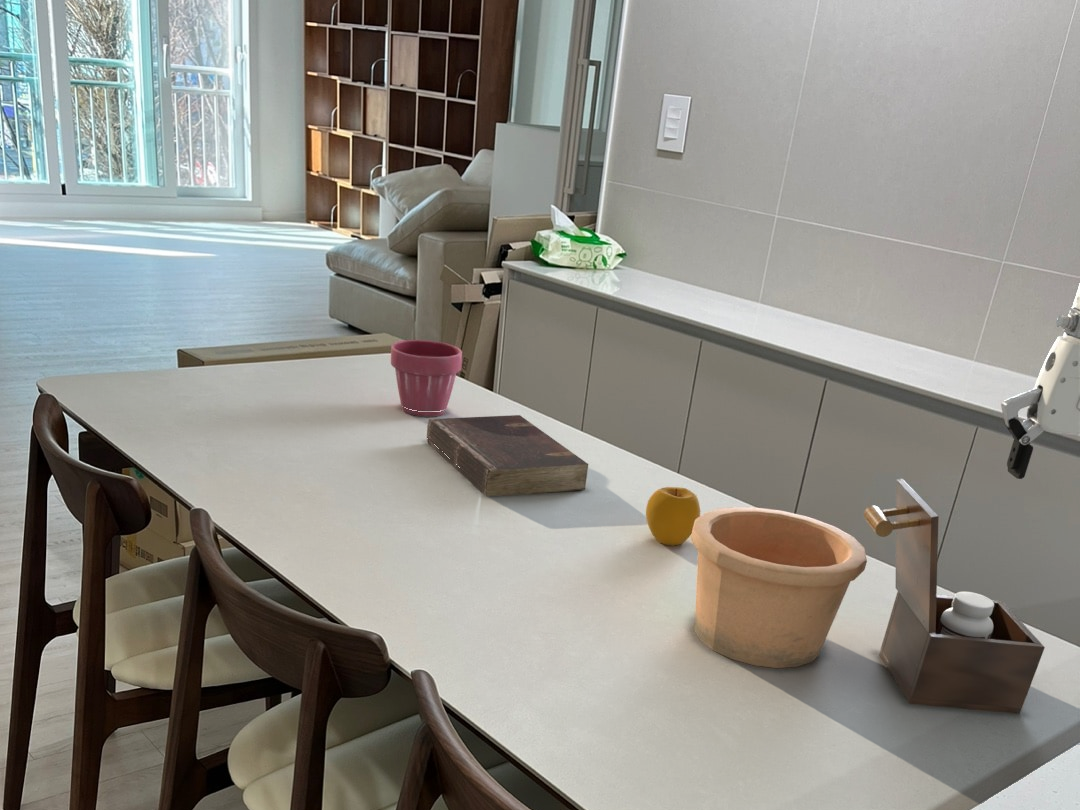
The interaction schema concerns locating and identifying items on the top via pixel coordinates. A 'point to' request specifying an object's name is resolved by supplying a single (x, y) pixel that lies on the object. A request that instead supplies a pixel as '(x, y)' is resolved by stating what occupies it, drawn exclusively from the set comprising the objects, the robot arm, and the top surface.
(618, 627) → the top surface
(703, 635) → the pottery
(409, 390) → the flower pot
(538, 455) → the hardback book
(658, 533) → the apple
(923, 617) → the lid
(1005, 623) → the chest
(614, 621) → the top surface
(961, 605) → the pill bottle
